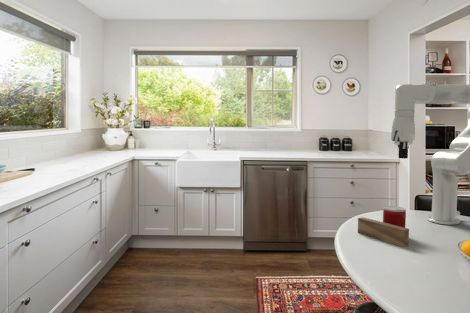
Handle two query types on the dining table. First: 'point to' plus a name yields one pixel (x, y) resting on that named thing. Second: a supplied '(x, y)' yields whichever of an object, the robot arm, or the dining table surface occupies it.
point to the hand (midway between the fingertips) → (403, 158)
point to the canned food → (394, 215)
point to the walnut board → (383, 231)
